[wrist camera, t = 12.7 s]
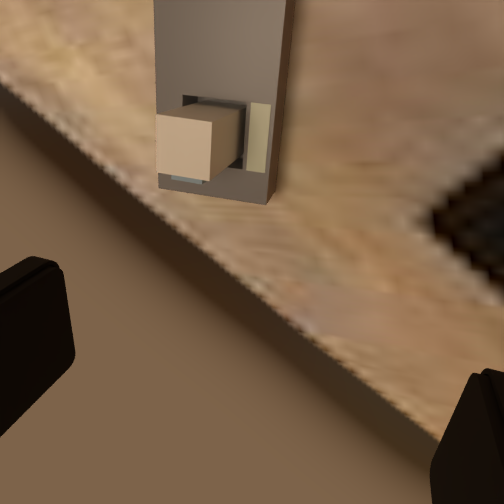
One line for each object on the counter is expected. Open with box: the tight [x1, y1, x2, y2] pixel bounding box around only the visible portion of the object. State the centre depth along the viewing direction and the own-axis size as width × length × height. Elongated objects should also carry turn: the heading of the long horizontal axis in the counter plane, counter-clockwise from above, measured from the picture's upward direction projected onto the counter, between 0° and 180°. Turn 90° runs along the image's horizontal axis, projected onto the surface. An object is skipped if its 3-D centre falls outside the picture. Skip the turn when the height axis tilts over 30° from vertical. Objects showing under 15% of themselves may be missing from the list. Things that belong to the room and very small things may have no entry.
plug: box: [156, 100, 247, 184], centre depth 33 cm, size 4×5×10 cm
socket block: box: [154, 0, 295, 205], centre depth 32 cm, size 10×24×4 cm, turn 176°
